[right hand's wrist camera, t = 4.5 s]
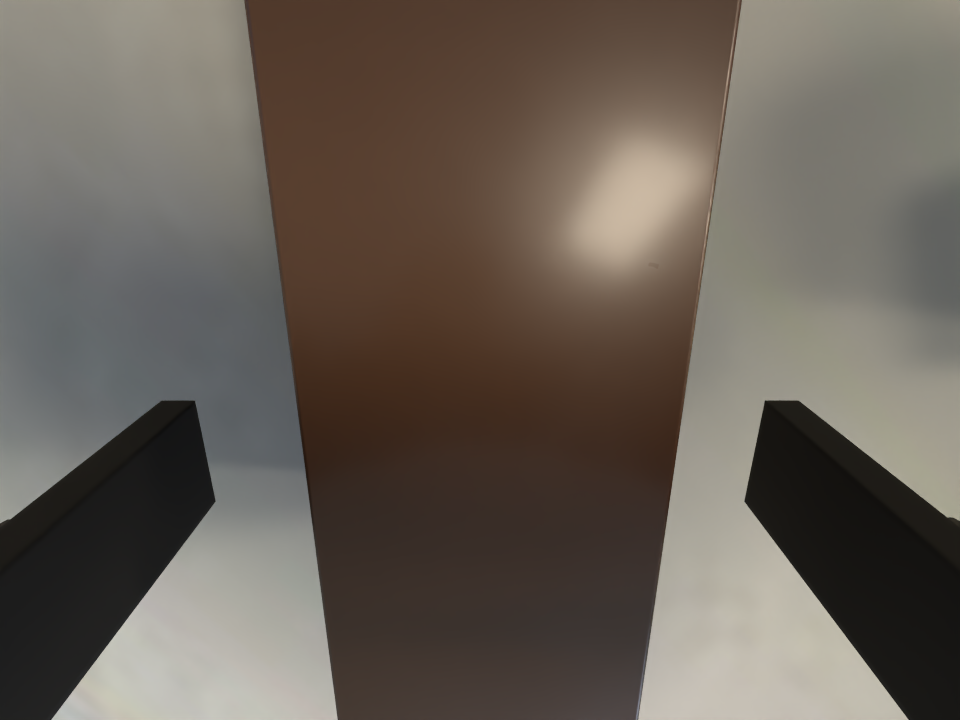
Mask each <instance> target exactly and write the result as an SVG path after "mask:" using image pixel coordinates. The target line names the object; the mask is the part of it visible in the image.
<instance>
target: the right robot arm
mask: <svg viewBox="0 0 960 720" xmlns="http://www.w3.org/2000/svg"><path fill="white" fill-rule="evenodd" d="M215 502H216V501H215V496H214V491H213V486H212V482H211V477H210V472H209V467H208V462H207V457H206V452H205V448H204V443H203V438H202V433H201V428H200V423H199V418H198V413H197V409H196V404H195V401H160V402H159V403H158V404H157V405H155V406H154V407H153V408H152V409H150V410H149V411H148V412H146V413H145V414H144V415H143V416H141V417H140V418H139V419H138V420H136V421H135V422H134V423H133V424H131V425H130V426H129V427H127V428H126V429H125V430H124V431H122V432H121V433H120V434H119V435H117V436H116V437H115V438H113V439H112V440H111V441H110V442H108V443H107V444H106V445H105V446H103V447H102V448H101V449H99V450H98V451H97V452H96V453H94V454H93V455H92V456H91V457H89V458H88V459H87V460H85V461H84V462H83V463H82V464H80V465H79V466H78V467H77V468H75V469H74V470H73V471H71V472H70V473H69V474H68V475H66V476H65V477H64V478H63V479H61V480H60V481H59V482H57V483H56V484H55V485H54V486H52V487H51V488H50V489H49V490H47V491H46V492H45V493H43V494H42V495H41V496H40V497H38V498H37V499H36V500H35V501H33V502H32V503H31V504H30V505H28V506H27V507H26V508H24V509H23V510H22V511H21V512H19V513H18V514H17V515H16V516H14V517H13V518H12V519H10V520H6V521H4V522H2V523H0V720H51V719H52V718H53V717H54V715H55V714H56V713H57V711H58V710H59V709H60V707H61V706H62V705H63V703H64V702H65V701H66V699H67V698H68V697H69V695H70V694H71V693H72V691H73V690H74V689H75V687H76V686H77V685H78V683H79V682H80V681H81V679H82V678H83V677H84V675H85V674H86V673H87V672H88V670H89V669H90V668H91V666H92V665H93V664H94V662H95V661H96V660H97V658H98V657H99V656H100V654H101V653H102V652H103V650H104V649H105V648H106V646H107V645H108V644H109V642H110V641H111V640H112V638H113V637H114V636H115V634H116V633H117V632H118V630H119V629H120V628H121V626H122V625H123V624H124V622H125V621H126V620H127V618H128V617H129V616H130V614H131V613H132V612H133V610H134V609H135V608H136V606H137V605H138V604H139V602H140V601H141V600H142V598H143V597H144V596H145V594H146V593H147V592H148V590H149V589H150V588H151V587H152V585H153V584H154V583H155V581H156V580H157V579H158V577H159V576H160V575H161V573H162V572H163V571H164V569H165V568H166V567H167V565H168V564H169V563H170V561H171V560H172V559H173V557H174V556H175V555H176V553H177V552H178V551H179V549H180V548H181V547H182V545H183V544H184V543H185V541H186V540H187V539H188V537H189V536H190V535H191V533H192V532H193V531H194V529H195V528H196V527H197V525H198V524H199V523H200V521H201V520H202V519H203V517H204V516H205V515H206V513H207V512H208V511H209V509H210V508H211V507H212V505H213V504H214V503H215ZM744 502H745V503H746V504H747V505H748V507H749V508H750V509H751V511H752V512H753V513H754V515H755V516H756V517H757V519H758V520H759V521H760V523H761V524H762V525H763V527H764V528H765V529H766V531H767V532H768V533H769V535H770V536H771V537H772V539H773V540H774V541H775V543H776V544H777V545H778V547H779V548H780V549H781V551H782V552H783V553H784V555H785V556H786V557H787V559H788V560H789V561H790V563H791V564H792V565H793V567H794V568H795V569H796V571H797V572H798V573H799V575H800V576H801V577H802V579H803V580H804V581H805V583H806V584H807V585H808V587H809V588H810V589H811V590H812V592H813V593H814V594H815V596H816V597H817V598H818V600H819V601H820V602H821V604H822V605H823V606H824V608H825V609H826V610H827V612H828V613H829V614H830V616H831V617H832V618H833V620H834V621H835V622H836V624H837V625H838V626H839V628H840V629H841V630H842V632H843V633H844V634H845V636H846V637H847V638H848V640H849V641H850V642H851V644H852V645H853V646H854V648H855V649H856V650H857V652H858V653H859V654H860V656H861V657H862V658H863V660H864V661H865V662H866V664H867V665H868V666H869V668H870V669H871V670H872V672H873V673H874V674H875V675H876V677H877V678H878V679H879V681H880V682H881V683H882V685H883V686H884V687H885V689H886V690H887V691H888V693H889V694H890V695H891V697H892V698H893V699H894V701H895V702H896V703H897V705H898V706H899V707H900V709H901V710H902V711H903V713H904V714H905V715H906V717H907V718H908V719H909V720H960V521H958V520H957V519H955V518H947V517H946V516H944V515H943V514H942V513H941V512H939V511H938V510H937V509H936V508H934V507H933V506H932V505H930V504H929V503H928V502H927V501H925V500H924V499H923V498H922V497H920V496H919V495H918V494H917V493H915V492H914V491H913V490H911V489H910V488H909V487H908V486H906V485H905V484H904V483H903V482H901V481H900V480H899V479H897V478H896V477H895V476H894V475H892V474H891V473H890V472H889V471H887V470H886V469H885V468H883V467H882V466H881V465H880V464H878V463H877V462H876V461H875V460H873V459H872V458H871V457H869V456H868V455H867V454H866V453H864V452H863V451H862V450H861V449H859V448H858V447H857V446H855V445H854V444H853V443H852V442H850V441H849V440H848V439H847V438H845V437H844V436H843V435H841V434H840V433H839V432H838V431H836V430H835V429H834V428H833V427H831V426H830V425H829V424H827V423H826V422H825V421H824V420H822V419H821V418H820V417H819V416H817V415H816V414H815V413H813V412H812V411H811V410H810V409H808V408H807V407H806V406H805V405H803V404H802V403H801V402H800V401H765V404H764V409H763V413H762V418H761V423H760V428H759V433H758V438H757V443H756V448H755V452H754V457H753V462H752V467H751V472H750V477H749V482H748V486H747V491H746V496H745V501H744Z"/></svg>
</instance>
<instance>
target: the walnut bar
mask: <svg viewBox="0 0 960 720" xmlns="http://www.w3.org/2000/svg"><path fill="white" fill-rule="evenodd" d="M244 1H245V9H246V16H247V24H248V32H249V39H250V47H251V55H252V63H253V70H254V78H255V86H256V93H257V101H258V109H259V116H260V124H261V132H262V140H263V147H264V155H265V163H266V170H267V178H268V186H269V193H270V201H271V209H272V217H273V224H274V232H275V240H276V247H277V255H278V263H279V270H280V278H281V286H282V294H283V301H284V309H285V317H286V324H287V332H288V340H289V347H290V355H291V363H292V371H293V378H294V386H295V394H296V401H297V409H298V417H299V424H300V432H301V440H302V448H303V455H304V463H305V471H306V478H307V486H308V494H309V501H310V509H311V517H312V525H313V532H314V540H315V548H316V555H317V563H318V571H319V578H320V586H321V594H322V602H323V609H324V617H325V625H326V632H327V640H328V648H329V655H330V663H331V671H332V679H333V686H334V694H335V702H336V709H337V717H338V720H638V716H639V709H640V702H641V695H642V688H643V682H644V675H645V668H646V661H647V654H648V647H649V640H650V633H651V626H652V619H653V612H654V605H655V598H656V591H657V585H658V578H659V571H660V564H661V557H662V550H663V543H664V536H665V529H666V522H667V515H668V508H669V501H670V494H671V488H672V481H673V474H674V467H675V460H676V453H677V446H678V439H679V432H680V425H681V418H682V411H683V404H684V398H685V391H686V384H687V377H688V370H689V363H690V356H691V349H692V342H693V335H694V328H695V321H696V314H697V307H698V301H699V294H700V287H701V280H702V273H703V266H704V259H705V252H706V245H707V238H708V231H709V224H710V217H711V211H712V204H713V197H714V190H715V183H716V176H717V169H718V162H719V155H720V148H721V141H722V134H723V127H724V120H725V114H726V107H727V100H728V93H729V86H730V79H731V72H732V65H733V58H734V51H735V44H736V37H737V30H738V23H739V17H740V10H741V3H742V0H244Z"/></svg>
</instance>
